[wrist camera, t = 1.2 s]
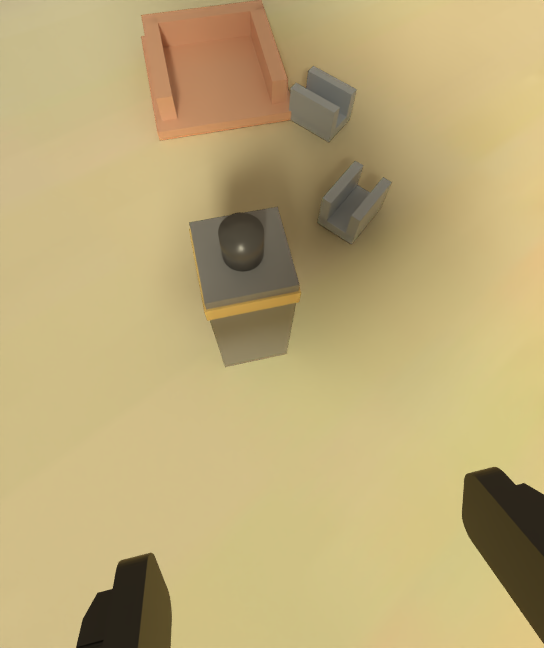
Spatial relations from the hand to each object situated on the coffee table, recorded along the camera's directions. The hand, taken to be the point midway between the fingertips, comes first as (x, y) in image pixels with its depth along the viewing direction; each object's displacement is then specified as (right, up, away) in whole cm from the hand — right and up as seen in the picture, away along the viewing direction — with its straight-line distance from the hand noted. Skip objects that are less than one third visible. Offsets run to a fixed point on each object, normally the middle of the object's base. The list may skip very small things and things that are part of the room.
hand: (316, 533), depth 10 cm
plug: (-3, +5, +17) cm, 18 cm away
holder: (-6, +26, +25) cm, 36 cm away
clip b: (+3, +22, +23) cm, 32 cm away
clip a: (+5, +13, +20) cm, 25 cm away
